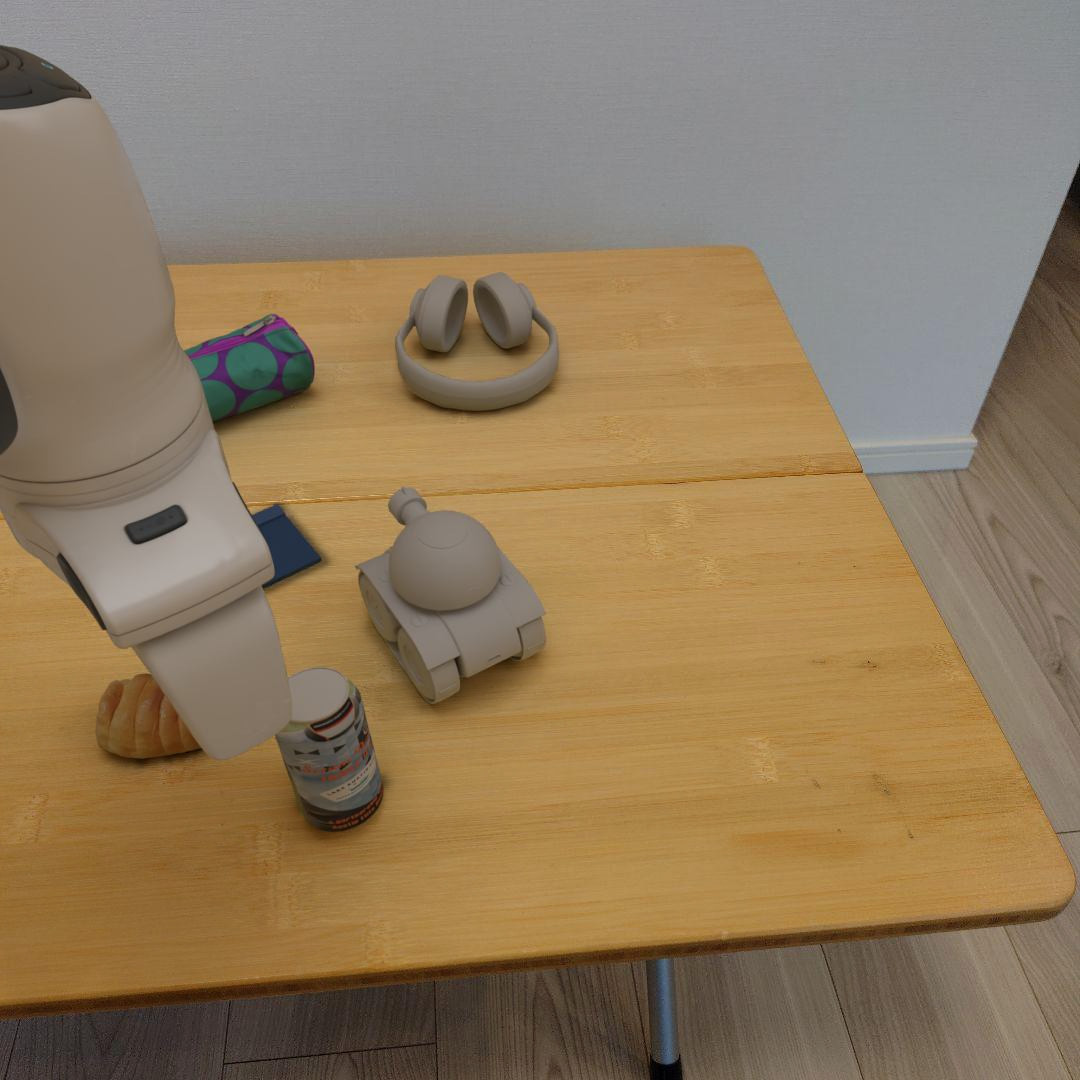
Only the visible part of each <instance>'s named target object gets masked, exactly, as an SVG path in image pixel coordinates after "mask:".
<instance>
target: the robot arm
mask: <svg viewBox="0 0 1080 1080" xmlns="http://www.w3.org/2000/svg"><path fill="white" fill-rule="evenodd" d="M173 284H174V283H173V281H172V277H171V275H170V271H169V268H168V264H167V261H166V258H165V254H164V251H163V248H162V245H161V241H160V238H159V235H158V232H157V229H156V226H155V223H154V221H153V217H152V214H151V212H150V209H149V206H148V204H147V201H146V198H145V195H144V192H143V190H142V187H141V185H140V182H139V179H138V176H137V174H136V172H135V168H134V167H133V165H132V162H131V160H130V157H129V155H128V152H127V151H126V148H125V146H124V144H123V142H122V140H121V138H120V136H119V134H118V132H117V130H116V128H115V125H114V124H113V122H112V120H111V119H110V117H109V115H108V114H107V112H106V111H105V109H104V108H103V106H102V105H101V103H100V102H99V101H98V100H97V98H96V97H95V96H94V95H93V93H91V92H90V91H89V90H88V89H87V88H86V87H85V86H83V84H81V83H80V82H78V81H77V80H76V79H75V78H74V77H72V76H70V75H69V73H67V72H66V71H64V70H63V69H61V68H60V67H59V66H57V65H55V64H53V63H51V62H50V61H48V60H46V59H44V58H42V57H40V56H38V55H36V54H34V53H32V52H30V51H27V50H24V49H22V48H18V47H14V46H7V45H2V44H0V512H1V514H2V516H3V518H4V520H5V522H6V524H7V526H8V528H9V530H10V532H11V533H12V536H13V537H14V540H15V541H16V542H17V543H18V545H19V546H20V547H21V548H22V549H23V550H24V551H26V553H28V554H30V555H31V556H33V558H36V559H37V560H40V561H41V563H43V564H44V566H45V567H46V568H48V569H49V570H50V571H51V572H52V573H53V574H54V575H56V576H57V577H58V578H59V579H60V580H62V581H63V582H64V583H65V584H66V585H67V586H69V587H70V588H71V589H72V591H73V592H74V594H75V595H76V596H77V597H78V599H79V600H80V601H81V602H82V603H83V604H84V606H85V607H86V608H87V609H88V611H89V612H90V614H91V616H92V617H93V618H94V620H95V621H96V622H97V624H98V626H99V627H100V629H101V630H102V631H105V632H106V633H107V635H108V637H109V639H110V640H111V642H112V644H113V645H114V646H115V647H117V649H120V650H126V649H129V648H131V649H132V651H134V653H135V655H136V656H137V657H138V658H139V660H140V661H141V663H142V664H143V666H144V667H145V668H146V670H147V671H148V674H151V675H152V677H153V678H154V680H155V681H156V683H157V684H158V686H159V687H160V689H161V690H162V692H163V693H164V695H165V696H166V697H167V699H168V700H169V702H170V703H171V705H172V706H173V708H174V709H175V711H176V712H177V714H178V715H179V717H180V718H181V720H182V721H183V723H184V724H185V726H186V727H187V729H188V730H189V732H190V733H191V734H192V736H193V737H194V739H195V740H196V741H197V743H198V744H199V745H200V747H201V748H200V749H202V750H203V752H204V753H205V754H206V755H207V756H208V757H209V758H210V759H212V760H214V761H219V762H222V761H223V762H224V761H228V760H230V759H233V758H236V757H238V756H240V755H243V754H244V753H246V752H248V751H250V750H252V749H254V748H256V747H258V746H259V745H262V744H263V743H265V742H266V741H268V740H269V739H271V738H273V737H275V735H276V734H277V733H279V732H280V731H281V730H282V729H283V728H285V727H286V726H287V724H288V723H289V722H290V719H291V717H292V699H291V693H290V688H289V682H288V672H287V667H286V662H285V657H284V652H283V647H282V643H281V639H280V634H279V629H278V627H277V623H276V619H275V617H274V616H275V615H274V613H273V610H272V607H271V604H270V602H269V599H268V597H267V594H266V592H265V590H264V588H262V586H261V585H262V584H264V583H266V582H267V581H269V580H271V579H272V578H273V577H274V573H275V571H274V565H273V560H272V557H271V553H270V550H269V547H268V545H267V543H266V541H265V539H264V537H263V536H262V534H261V531H260V529H259V527H258V525H257V523H256V521H255V520H254V518H253V516H252V515H253V514H252V513H251V510H249V507H248V506H247V504H246V502H245V500H244V498H243V496H242V495H241V492H240V491H239V489H238V487H237V485H236V484H235V482H234V481H232V476H231V472H230V468H229V464H228V461H227V457H226V454H225V451H224V446H223V443H222V440H221V438H220V436H219V434H218V432H217V431H216V429H215V425H214V422H212V418H211V415H210V411H209V408H208V404H207V401H206V398H205V394H204V390H203V387H202V384H201V380H200V378H199V375H198V373H197V371H196V369H195V367H194V365H193V363H192V362H191V360H190V359H189V357H188V356H187V355H186V353H185V352H184V350H185V349H184V348H183V347H182V345H181V343H180V340H179V339H178V335H177V332H176V331H177V330H176V326H175V321H176V320H175V319H176V318H175V315H176V295H175V290H174V289H175V287H174V285H173Z"/></svg>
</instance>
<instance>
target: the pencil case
mask: <svg viewBox="0 0 1080 1080" xmlns="http://www.w3.org/2000/svg"><path fill="white" fill-rule="evenodd" d="M183 350H184V352H185V353H186V355H187V356H188V357H189V359H190V360H191V362H192V363H193V365H194V367H195V369H196V371H197V373H198V375H199V378H200V380H201V384H202V387H203V390H204V394H205V398H206V401H207V404H208V408H209V411H210V415H211V418H212V422H213V423H214V422H217V421H220V420H222V419H225V418H229V417H231V416H232V417H233V416H236V415H239V414H242V413H245V412H249V411H251V410H254V409H257V408H260V407H263V406H265V405H270V404H272V403H275V402H277V401H280V400H282V399H285V398H288V397H291V396H294V395H295V394H297V393H300V392H304V391H306V390H308V389H309V388H310V387H311V385H312V384H313V383H314V380H315V375H316V374H315V373H316V367H315V366H316V365H315V360H314V356H313V353H312V351H311V349H310V348H309V346H308V345H307V343H306V342H305V341H304V339H303V338H301V337H300V335H299V333H298V332H297V330H296V329H295V328H294V326H292V325H291V324H290V323H289V322H288V321H287V320H286V319H285V318H284V317H283V316H280V315H278V314H276V313H269V314H267V315H265V316H263V317H262V318H260V319H257V320H255V321H252V322H250V323H249V324H246V325H245V326H243V327H241V328H237V329H235V330H233V331H231V332H229V333H226V334H224V335H220V336H216V337H212V338H210V339H208V340H205V341H203V342H201V343H199V344H197V345H194V346H192V347H189V348H187V349H183Z"/></svg>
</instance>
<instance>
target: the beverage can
mask: <svg viewBox="0 0 1080 1080" xmlns="http://www.w3.org/2000/svg"><path fill="white" fill-rule="evenodd" d="M287 677H288V676H287ZM288 682H289V688H290V693H291V699H292V717H291V719H290V722H289V723H288V724H287V726H286V727H285V728H283V729H282V730H281V731H280V732H279V733H277V734H276V735H274V737H275V741H276V743H277V746H278V749H279V752H280V755H281V758H282V760H283V763H284V767H285V769H286V772H287V775H288V778H289V781H290V784H291V788H292V790H293V793H294V796H295V799H296V802H297V806H298V808H299V811H300V814H301V816H302V818H303V820H304V821H305V822H306V823H307V824H308V825H309V826H310V827H312V828H314V829H316V830H317V831H321V832H327V833H339V832H344V831H350V830H352V829H354V828H356V827H359V826H360V825H362V824H364V823H365V822H367V821H368V820H369V819H370V818H371V817H373V815H374V814H376V812H377V811H378V809H380V805H381V803H382V801H383V798H384V790H385V789H384V784H383V780H382V775H381V771H380V767H379V764H378V759H377V755H376V750H375V747H374V743H373V740H372V735H371V732H370V727H369V722H368V719H367V715H366V710H365V707H364V703H363V699H362V695H361V693H360V691H359V689H358V688H357V686H356V685H355V684H354V683H353V682H352V681H350V680H349V679H348V678H347V677H346V675H344V673H342V672H341V671H339V670H338V669H336V668H335V669H334V668H333V667H332V668H331V667H327V666H315V667H309V668H305V669H303V670H302V669H301V670H299V671H297V672H295V673H293V674H292V675H290V676H289V677H288Z"/></svg>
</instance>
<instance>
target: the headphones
mask: <svg viewBox="0 0 1080 1080" xmlns="http://www.w3.org/2000/svg"><path fill="white" fill-rule="evenodd" d="M472 295H473V302H474V307H475V309H476V310H475V311H476V313H477V315H478V318H479V321H480V322H481V324H482V326H483V328H484V329H485V332H486V333H487V334H488V336H489V337H490V338H491V340H492V341H493V342H494V343H495V344H496V345H497V346H499V347H500V348H502V349H511V348H515V347H517V346H520V345H524V344H525V343H526V342H527V341H528V340H529V339H530V337H532V332H533V321H534V322H535V323H536V324H537V325H538V326H539V327H540V328H541V329H542V330H543V331H545V333H546V334H547V336H548V347H547V349H546V351H545V352H544V353H543V354H542V355H541V356H540V357H539V358H538V359H537V360H536V361H534V362H533V363H532V364H531V365H529V366H528V367H525V368H524V369H522V370H520V371H518V372H515V373H513V374H510V375H507V376H503V377H498V378H495V379H489V380H488V379H487V380H467V379H457V378H451V377H448V376H445V375H443V374H442V375H441V374H438V373H435V372H434V371H431V370H429V369H427V368H426V367H424V366H423V365H421V364H420V363H417V362H416V361H415V360H414V359H413V358H412V357H411V356H410V355H409V354H408V353H407V352H406V350H405V345H404V342H405V340H406V339H407V337H408V336H409V334H410V332H411V331H412V330H413V328H414V327H415V330H416V333H417V337H418V342H419V343H420V345H421V346H423V347H424V348H425V349H426V350H429V351H434V352H439V353H447V352H449V351H450V350H451V349H453V347H454V346H455V345H456V343H457V341H458V339H459V337H460V334H461V332H462V329H463V326H464V323H465V319H466V316H467V311H468V303H469V289H468V284H467V282H466V281H465V280H464V279H462V278H457V277H452V276H448V275H443V274H442V275H441V274H438V275H436V276H435V277H434V278H433V279H432V280H431V281H430V283H429V284H428V285H427V286H426V287H425V288H421V287H420V288H418V289H417V290H416V291H415V293H414V294H413V297H412V300H411V303H410V307H409V312H408V316H407V318H406V320H405V321H404V323H403V324H402V325H401V326H400V328H399V329H398V331H397V333H396V336H395V339H394V349H395V355H396V361H397V367H398V372H399V374H400V377H401V380H402V382H403V383H404V385H405V386H406V387H407V388H408V389H409V390H410V391H411V392H412V393H413V394H414V395H416V396H417V397H418V398H420V399H422V400H425V401H427V402H430V403H432V404H434V405H436V406H438V407H441V408H444V409H445V408H446V409H454V410H460V411H471V412H477V411H478V412H479V411H482V412H483V411H493V410H498V409H503V408H508V407H511V406H515V405H518V404H522V403H525V402H527V401H528V400H530V399H531V398H533V397H535V396H536V395H537V394H539V393H541V392H542V391H544V390H545V388H547V387H548V386H549V385H550V384H551V382H553V379H554V377H556V374H557V372H558V368H559V360H560V348H559V339H558V338H559V336H558V332H557V329H556V327H555V325H554V324H553V323H552V321H550V320H549V319H548V318H547V317H546V315H544V314H543V313H542V312H541V310H539V309H538V307H537V304H536V301H535V298H534V295H533V294H532V292H531V290H530V288H528V287H527V285H525V284H524V283H523V282H517V281H515V280H514V279H513V278H512V277H511V276H510V275H509V274H508V273H505V272H504V271H498V272H493V273H491V274H487V275H485V276H482V277H479V278H477V279H476V280H475V282H474V283H473V289H472Z"/></svg>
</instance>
